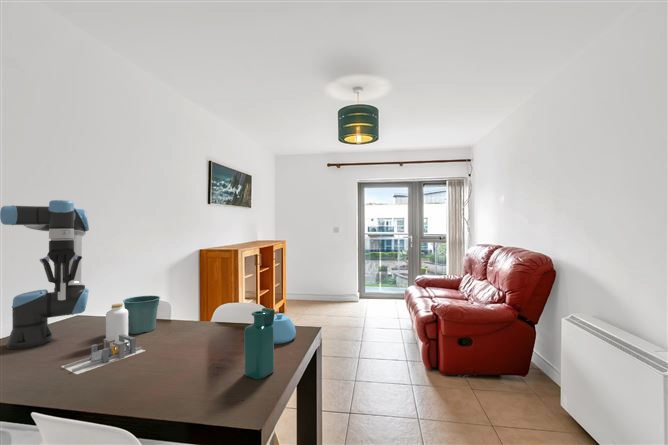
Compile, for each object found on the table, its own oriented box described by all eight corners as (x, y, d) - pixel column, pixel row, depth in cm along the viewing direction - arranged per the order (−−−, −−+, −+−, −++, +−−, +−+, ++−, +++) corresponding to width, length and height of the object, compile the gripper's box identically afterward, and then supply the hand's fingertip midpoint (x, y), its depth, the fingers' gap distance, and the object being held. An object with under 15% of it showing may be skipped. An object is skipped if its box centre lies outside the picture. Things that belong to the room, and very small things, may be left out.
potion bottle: (117, 349, 137) (116, 307, 137) (100, 347, 138) (100, 306, 139) (132, 342, 145) (132, 302, 145) (117, 341, 147) (117, 302, 147)
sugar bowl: (256, 342, 144) (256, 316, 144) (274, 331, 158) (274, 308, 158) (285, 346, 138) (285, 320, 138) (301, 335, 152) (301, 311, 152)
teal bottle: (259, 381, 108) (258, 316, 108) (242, 375, 112) (241, 312, 112) (278, 369, 116) (278, 309, 116) (262, 364, 120) (261, 306, 121)
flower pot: (151, 323, 173) (151, 293, 174) (166, 328, 164) (166, 297, 164) (117, 331, 160) (117, 299, 160) (131, 338, 150) (131, 304, 151)
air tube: (93, 365, 120) (95, 357, 119) (88, 358, 122) (91, 350, 121) (132, 352, 132) (134, 345, 131) (127, 346, 134) (130, 338, 133)
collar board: (60, 369, 118) (60, 350, 118) (128, 347, 139) (128, 331, 139) (76, 377, 112) (76, 357, 112) (145, 353, 132) (145, 336, 132)
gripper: (44, 240, 117) (44, 304, 117) (85, 239, 129) (85, 297, 128) (36, 240, 121) (36, 302, 121) (77, 238, 132) (77, 295, 132)
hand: (61, 299), depth 125 cm, fingers closed
